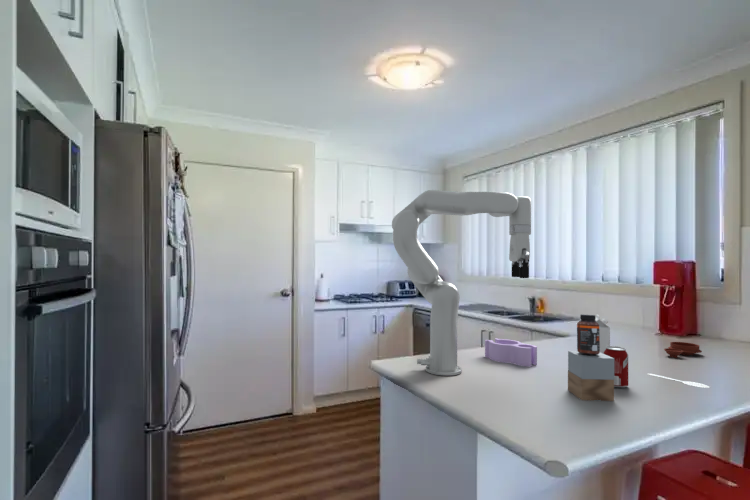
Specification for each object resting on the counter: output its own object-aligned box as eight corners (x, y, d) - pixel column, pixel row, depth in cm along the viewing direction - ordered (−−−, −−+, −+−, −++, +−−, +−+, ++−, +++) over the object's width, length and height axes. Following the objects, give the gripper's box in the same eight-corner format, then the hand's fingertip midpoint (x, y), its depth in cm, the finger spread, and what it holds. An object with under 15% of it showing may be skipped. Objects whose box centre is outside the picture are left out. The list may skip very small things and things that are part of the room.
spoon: (651, 373, 146) (651, 372, 146) (713, 387, 130) (713, 386, 130) (643, 375, 143) (643, 374, 143) (705, 390, 127) (705, 388, 127)
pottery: (706, 355, 175) (706, 345, 175) (686, 361, 164) (686, 350, 165) (674, 350, 185) (674, 340, 185) (654, 355, 174) (654, 345, 174)
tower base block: (581, 400, 116) (581, 379, 116) (567, 390, 125) (567, 370, 125) (614, 401, 115) (613, 379, 116) (597, 391, 124) (597, 371, 125)
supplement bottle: (602, 355, 117) (601, 315, 118) (579, 353, 119) (578, 314, 120) (597, 352, 123) (596, 314, 124) (575, 351, 125) (575, 313, 126)
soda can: (619, 390, 125) (619, 350, 125) (599, 384, 131) (599, 346, 131) (633, 387, 128) (632, 348, 129) (612, 381, 134) (612, 344, 135)
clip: (543, 363, 158) (543, 345, 158) (524, 368, 150) (524, 349, 150) (499, 354, 174) (499, 337, 174) (480, 357, 166) (480, 340, 166)
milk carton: (588, 366, 153) (588, 315, 154) (586, 362, 160) (586, 313, 160) (610, 368, 151) (610, 317, 151) (607, 364, 157) (607, 314, 158)
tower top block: (582, 379, 116) (582, 357, 116) (568, 370, 125) (568, 350, 125) (614, 379, 116) (614, 358, 116) (598, 371, 125) (598, 351, 125)
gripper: (503, 232, 158) (503, 276, 158) (516, 228, 141) (516, 278, 140) (523, 232, 158) (523, 276, 157) (538, 228, 140) (538, 278, 140)
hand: (519, 277), depth 149 cm, fingers open, 9 cm apart
